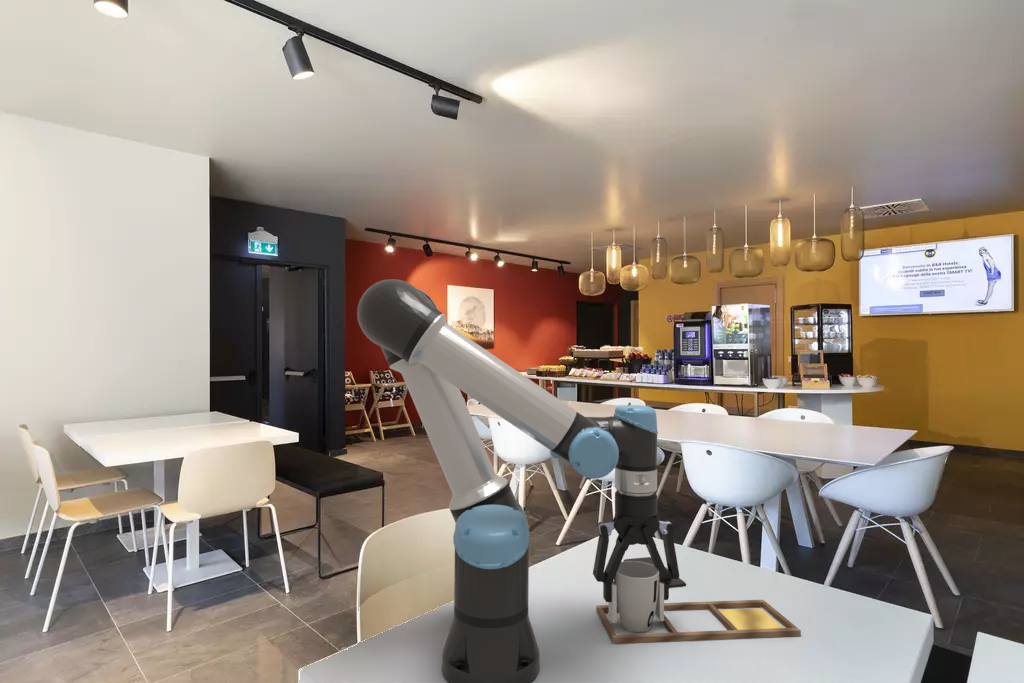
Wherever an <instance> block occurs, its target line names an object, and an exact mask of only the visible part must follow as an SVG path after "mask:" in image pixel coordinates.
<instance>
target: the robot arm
mask: <svg viewBox="0 0 1024 683" xmlns="http://www.w3.org/2000/svg"><path fill="white" fill-rule="evenodd" d="M356 314H357V316H356V317H357V322H358V325H359V327H360V329H361V331H362V333H363V334H364V335H365V336H366V338H367V339H369V341H371V342H372V343H373V344H374V345H377V346H379V347H380V349H381V351H382V353H383V355H384V357H385V360H386V362H387V364H388V367H389V370H390V369H391V370H393V371H395V372H398V373H400V374H401V376H402V378H403V381H404V383H405V386H406V387H407V390H408V392H409V394H410V395H409V396H410V397H411V399H412V402H413V404H414V406H415V410H416V411H417V413H418V416H419V418H420V421H421V423H422V425H423V427H424V429H425V432H426V434H427V438H428V439H429V442H430V444H431V446H432V449H433V451H434V453H435V455H436V459H437V461H438V463H439V465H440V467H441V470H442V472H443V474H444V477H445V480H446V482H447V484H448V486H449V488H450V491H451V493H452V497H451V499H450V502H449V504H448V508H449V510H450V513H451V516H452V518H453V520H454V522H455V524H454V525H455V528H454V532H453V538H452V539H453V540H452V541H453V545H454V546H453V547H454V577H453V578H454V585H453V587H454V589H453V590H454V591H453V603H454V604H453V613H454V614H453V619H452V622H451V625H450V629H449V631H448V634H447V637H446V640H445V644H444V647H443V650H442V658H441V660H442V664H441V665H442V666H441V669H442V670H441V671H442V673H443V676H444V678H445V679H446V680H447V682H448V683H532V682H533V681H534V680H535V679H536V678H537V676H538V674H539V671H540V649H539V646H538V642H537V639H536V636H535V633H534V630H533V626H532V622H531V620H530V616H529V585H530V584H529V578H530V577H529V574H530V573H529V571H530V570H529V564H530V563H529V561H530V560H529V556H530V553H529V551H530V550H529V548H530V546H529V545H530V543H531V542H530V541H531V534H530V533H531V532H530V529H529V522H528V519H527V516H526V512H525V510H524V508H523V506H522V505H521V504H520V502H519V501H517V499H516V497H515V494H514V492H513V490H512V488H511V485H510V483H509V480H508V478H506V477H504V476H503V477H502V476H500V475H498V474H497V473H496V470H495V469H494V466H493V464H492V462H491V459H490V457H489V455H488V453H487V450H486V448H485V445H484V443H483V441H482V439H481V436H480V434H479V432H478V429H477V427H476V425H475V422H474V420H473V417H472V415H471V413H470V411H469V409H468V406H467V403H466V401H465V399H464V397H463V394H462V392H463V393H464V394H466V395H467V396H469V397H471V398H472V399H473V400H475V401H477V402H478V403H479V404H481V405H482V406H484V407H486V408H487V409H488V410H490V411H492V412H493V413H494V414H496V415H497V416H499V417H500V418H502V419H503V420H504V421H506V422H508V424H511V425H512V426H514V427H515V428H517V429H518V430H519V431H521V432H523V433H524V434H525V435H527V436H528V437H529V438H532V440H535V442H538V443H539V444H540V445H542V446H544V447H545V448H546V449H547V450H549V451H550V452H549V454H550V455H551V457H552V458H554V459H562V460H564V461H565V462H566V463H568V464H570V465H571V467H572V468H573V470H574V471H575V472H577V473H578V474H580V475H581V476H583V477H585V478H588V479H601V478H604V477H607V476H608V475H609V474H610V473H612V472H613V470H614V488H615V490H616V491H615V492H614V517H613V519H612V521H610V522H602V521H600V522H598V523H597V530H598V540H597V547H596V553H595V557H594V558H595V559H594V564H593V569H592V575H593V576H594V579H595V580H596V581H597V582H599V583H600V582H601V583H602V585H603V586H602V588H603V589H602V592H603V593H602V596H603V599H604V601H605V602H606V603H608V605H609V613H608V618H609V619H610V622H611V623H612V624H617V622H618V621H617V619H618V618H617V617H618V616H617V615H618V614H617V585H616V584H615V582H614V578H615V575H616V573H617V571H618V568H619V566H620V563H621V562H623V561H622V560H623V558H624V555H625V553H626V551H628V549H629V547H630V546H634V545H637V544H638V545H645V547H646V548H647V551H648V554H649V557H651V559H652V561H653V563H654V566H655V567H656V568H657V569H658V570H659V577H660V579H659V584H658V598H657V604H656V610H655V615H654V616H656V618H657V619H658V622H659V621H660V622H661V621H664V615H665V611H664V603H665V601H668V600H669V597H670V588H669V585H670V584H671V580H673V579H678V578H680V570H679V565H678V564H679V563H678V559H677V558H678V557H677V553H676V546H675V540H674V534H675V529H676V528H675V527H676V526H675V525H674V524H672V522H670V521H669V520H667V519H666V520H664V521H662V520H659V517H658V495H657V493H656V491H657V490H658V434H659V432H658V421H657V420H658V419H657V412H656V410H655V409H654V408H653V407H651V406H648V405H639V404H637V405H636V404H634V405H633V404H626V405H618V406H616V407H615V408H614V413H613V416H612V415H609V416H584V415H583V414H581V413H580V412H578V411H577V410H575V409H574V408H572V407H571V406H569V405H568V404H567V403H565V402H563V401H562V400H560V399H559V398H558V397H556V396H555V395H554V394H551V393H550V392H549V391H548V390H546V389H544V388H543V387H541V386H540V385H539V384H538V383H535V382H534V381H533V380H531V379H530V378H528V377H527V376H525V375H523V373H521V372H519V370H516V369H515V368H514V367H511V366H510V365H509V364H507V363H506V362H504V361H503V360H501V358H498V357H497V356H495V355H494V354H492V353H491V352H490V351H488V350H487V349H486V348H484V347H482V345H480V344H478V343H476V342H475V341H474V340H472V339H470V338H469V337H467V336H466V335H465V334H463V333H462V332H460V331H459V330H458V329H456V328H454V327H453V326H451V325H450V324H448V323H447V318H446V314H445V313H443V311H441V310H438V307H437V305H436V303H435V301H434V300H432V299H431V297H430V296H429V295H428V294H427V293H426V292H424V291H423V290H422V289H420V288H417V287H415V286H414V285H413V284H411V283H409V282H407V281H405V280H401V279H393V278H391V279H389V278H388V279H382V280H380V281H378V282H375V283H374V284H372V285H371V286H369V287H368V288H367V289H366V290H365V291H364V293H363V294H362V295H361V297H360V299H359V302H358V305H357V311H356ZM613 530H615V531H616V533H617V534H618V535H617V538H616V539H615V545H614V547H613V550H612V552H611V553H610V557H609V558H608V559H609V560H608V562H606V560H607V555H608V549H609V543H610V536H611V535H612V532H613ZM658 530H659V532H660V533H661V537H662V543H663V548H664V549H663V550H664V554H665V561H666V566H665V565H664V562H663V560H662V557H661V555H660V552H659V551H658V548H657V544H656V542H655V540H654V538H653V537H654V535H656V532H657V531H658ZM606 563H607V564H606ZM665 567H666V568H667V569H668V570H667V571H666V569H665Z"/></svg>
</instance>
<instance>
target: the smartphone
mask: <svg viewBox="0 0 1024 683" xmlns="http://www.w3.org/2000/svg"><path fill="white" fill-rule="evenodd" d="M624 561H639V562H644V563H648V564H651V565H653V566H654V563H653V561H652V559H651V556H648V557H647V556H646V557H633V558H625V559H623V561H622V562H624ZM665 569H666V571H667V570H668V568H667V566H665ZM659 579H660V577H659ZM686 586H687V583H686V582H685V581H684V580H683V579H682V578H680V577H679V578H678V579H673V580H671V584H670V585H669V589H670V588H674V589H675V588H684V587H686Z"/></svg>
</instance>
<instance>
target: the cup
mask: <svg viewBox="0 0 1024 683" xmlns="http://www.w3.org/2000/svg"><path fill="white" fill-rule="evenodd" d="M623 561H624V560H623ZM623 561H621V563H620V566H619V568H618V571H617V573H616V575H615V578H614V580H613V581H614V582H615V584H616V585H617V609H618V615H619V619H620V622H621V625H622V628H624V629H626V630H627V631H629V632H634V633H645V632H647V631H649V630H651V629H652V628H651V626H652V624H653V622H654V618H655V616H656V615H655V610H656V604H657V598H658V584H659V570H658V569H657V568H656V567H655V566H653V565H651V564H648V563H644V562H639V561H624V562H623Z"/></svg>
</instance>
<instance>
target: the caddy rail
mask: <svg viewBox="0 0 1024 683" xmlns="http://www.w3.org/2000/svg"><path fill="white" fill-rule="evenodd" d="M595 607H596V609H595V610H596V613H597V615H598V616H599V619H600V620H601V623H602V625H603V626H604V629H605V630H606V633H607V634H608V636H609V638H610V640H611V642H612V644H613V645H620V644H621V645H622V644H645V643H669V642H690V641H691V642H694V641H714V640H715V641H717V640H737V639H738V640H741V639H762V638H786V637H788V638H789V637H791V638H792V637H801V636H802V635H801V632H802V631H801V629H800V628H798V627H797V626H796V625H795V624H794V623H792V622H791V621H790V620H789V619H787V618H786V617H785V616H783V614H781V613H780V612H779V611H778V610H777V609H775V608H774V607H773V606H772V605H771V604H769V603H768V602H766V600H764V599H744V600H742V599H741V600H718V601H717V600H716V601H713V600H712V601H693V602H692V601H691V602H689V601H687V602H684V601H683V602H664V612H669V611H672V612H673V611H691V610H692V611H696V610H697V611H699V610H702V611H703V610H708V611H709V612H710V613H711V614H712V615H713V616H714V617H715V618H716V619H717V620H718V621H719V622H720V623H721V625H723V626H724V627H725V628H726V629H727V630H725V629H724V630H722V629H721V630H703V631H701V630H700V631H679V632H678V631H677V629H676V628H675V626H674V625H673V624H672V622H671V621H670V620H669V618H668V617H667V616H666V615H665V614H664V621H660V622H661V623H662V625H663V626H664V628H665V629H666V630H667V632H656V633H654V632H651V633H631V634H629V633H628V634H625V633H623V634H617V632H616V631H615V629H614V628H613V626H612V624H611V621H610V620H609V617H607V615H606V614H609V604H604V605H603V604H602V605H601V604H599V605H596V606H595ZM764 610H765V611H766V612H765V611H764ZM617 613H618V609H617ZM767 613H768V614H767ZM618 614H619V613H618ZM770 615H771V616H770ZM772 617H773V618H774V619H775V620H774V619H773V618H772ZM778 622H779V623H780V624H781V625H780V624H779V623H778ZM783 626H784V627H783Z"/></svg>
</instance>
